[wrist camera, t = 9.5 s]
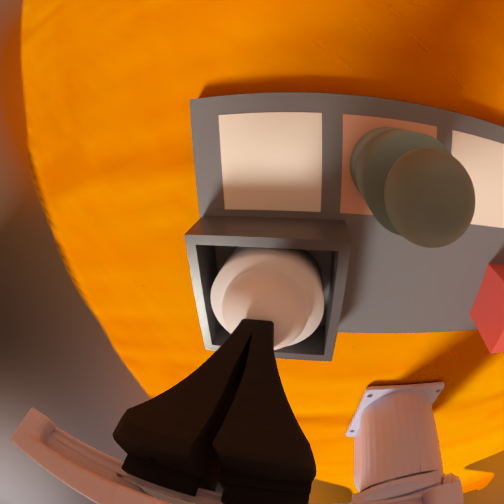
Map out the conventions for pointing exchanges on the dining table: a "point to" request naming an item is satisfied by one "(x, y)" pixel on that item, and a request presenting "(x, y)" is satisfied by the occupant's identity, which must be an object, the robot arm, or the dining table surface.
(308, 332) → the dome
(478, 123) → the board
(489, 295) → the die
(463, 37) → the dining table surface
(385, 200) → the pawn
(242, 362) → the robot arm
